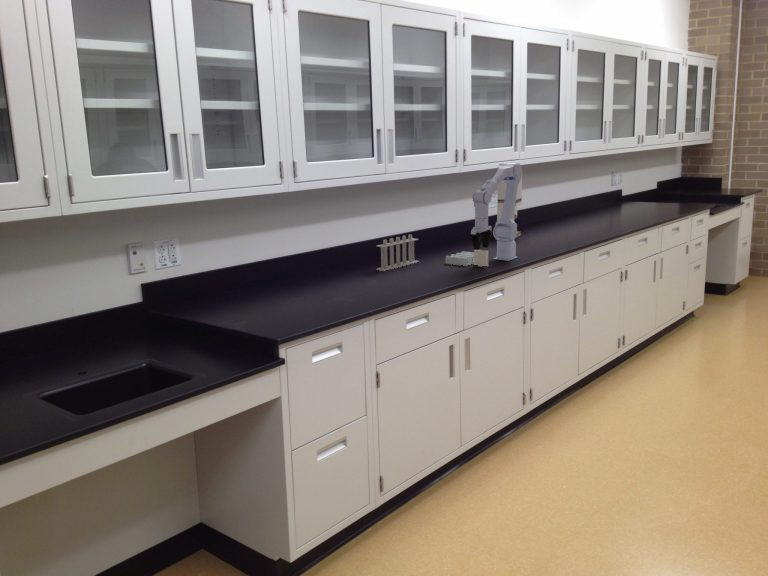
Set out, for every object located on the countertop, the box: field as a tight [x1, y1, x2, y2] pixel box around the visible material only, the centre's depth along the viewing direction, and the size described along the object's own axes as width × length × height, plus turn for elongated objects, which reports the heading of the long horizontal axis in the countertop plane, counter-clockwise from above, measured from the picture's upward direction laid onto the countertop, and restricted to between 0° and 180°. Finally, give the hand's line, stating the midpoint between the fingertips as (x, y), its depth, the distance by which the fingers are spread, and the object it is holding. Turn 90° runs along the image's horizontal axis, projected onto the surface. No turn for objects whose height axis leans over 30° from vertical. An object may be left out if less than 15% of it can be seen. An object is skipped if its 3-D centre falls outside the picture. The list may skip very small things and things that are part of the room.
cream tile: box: [473, 249, 489, 267], centre depth 298 cm, size 2×6×7 cm, turn 52°
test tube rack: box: [376, 234, 420, 272], centre depth 301 cm, size 25×4×13 cm, turn 140°
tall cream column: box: [496, 176, 523, 239], centre depth 376 cm, size 11×11×35 cm
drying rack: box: [445, 250, 474, 267], centre depth 307 cm, size 14×11×4 cm
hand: (481, 248), depth 297 cm, fingers open, 7 cm apart
